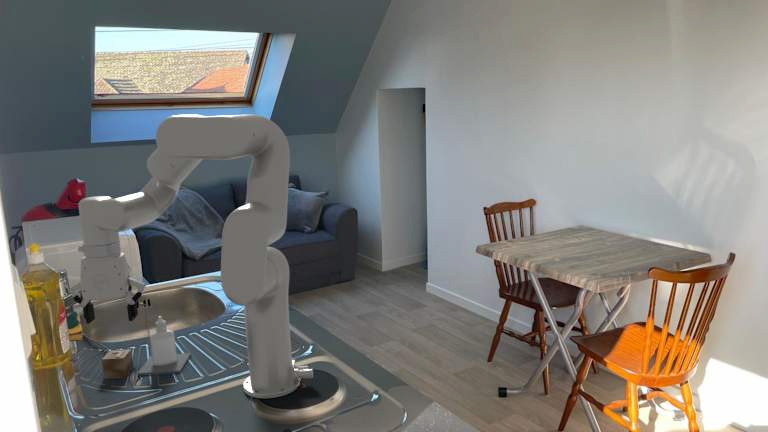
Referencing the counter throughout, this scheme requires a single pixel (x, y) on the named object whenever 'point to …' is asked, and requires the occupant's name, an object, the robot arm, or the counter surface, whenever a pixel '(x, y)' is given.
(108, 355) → the walnut cube
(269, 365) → the robot arm
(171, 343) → the eye dropper bottle
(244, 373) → the counter surface
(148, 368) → the slate mat
